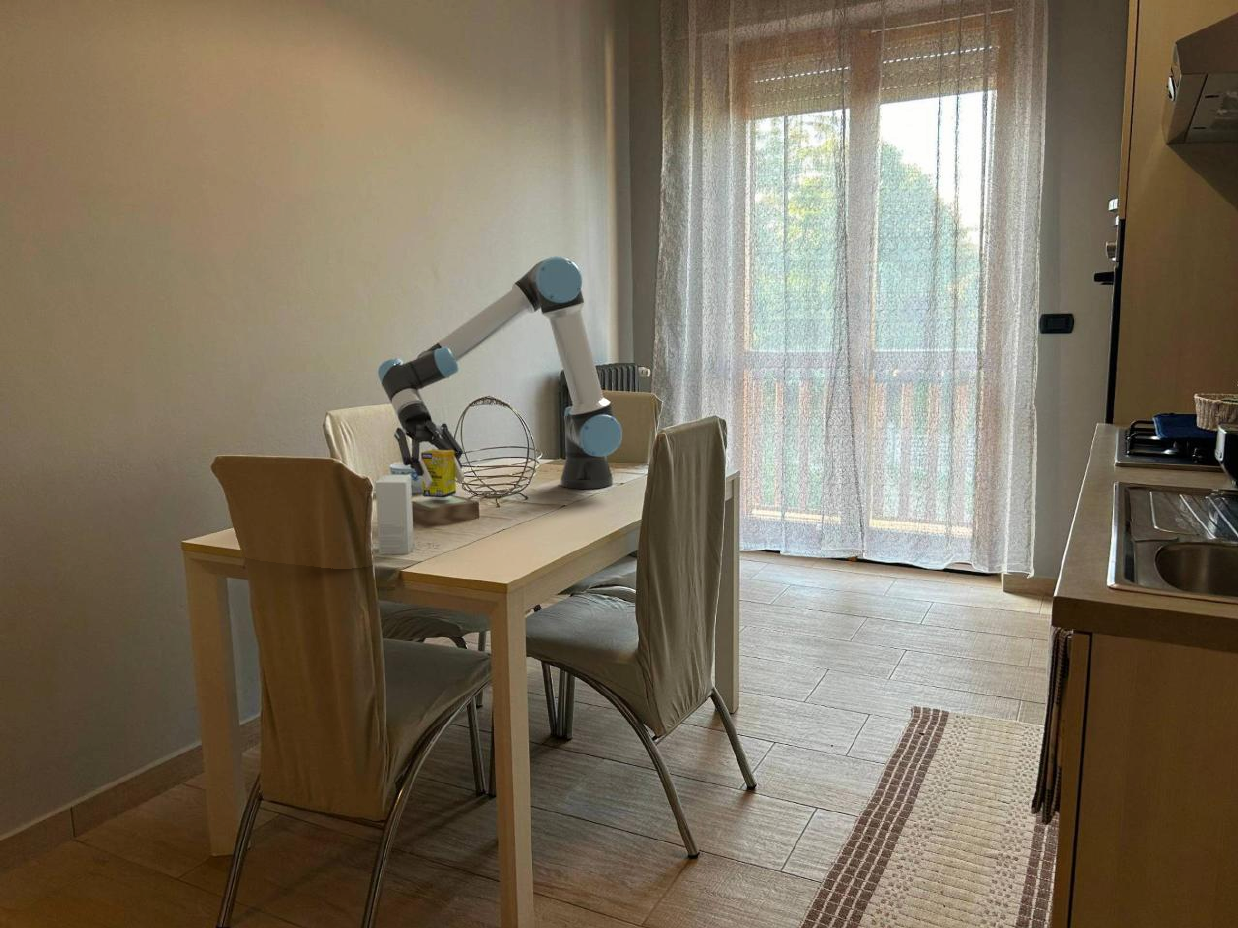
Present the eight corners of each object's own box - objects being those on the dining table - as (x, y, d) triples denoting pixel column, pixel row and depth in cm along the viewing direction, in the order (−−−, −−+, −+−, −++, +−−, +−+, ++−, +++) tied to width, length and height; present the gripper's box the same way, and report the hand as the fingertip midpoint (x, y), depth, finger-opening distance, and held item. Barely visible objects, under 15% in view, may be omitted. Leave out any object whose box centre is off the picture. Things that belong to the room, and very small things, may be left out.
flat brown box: (453, 510, 235) (452, 493, 234) (479, 517, 225) (478, 500, 224) (402, 518, 226) (401, 501, 226) (427, 526, 216) (426, 509, 216)
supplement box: (422, 497, 223) (420, 452, 221) (435, 492, 229) (432, 448, 227) (444, 498, 221) (442, 453, 219) (456, 493, 227) (454, 449, 225)
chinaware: (403, 498, 253) (402, 470, 251) (382, 490, 265) (380, 464, 263) (453, 491, 261) (452, 464, 260) (430, 484, 273) (429, 458, 272)
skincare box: (385, 545, 199) (381, 474, 197) (416, 544, 199) (412, 473, 197) (378, 555, 191) (373, 481, 188) (410, 554, 191) (406, 480, 189)
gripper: (444, 417, 240) (478, 486, 231) (368, 424, 228) (401, 497, 218) (453, 398, 235) (488, 467, 226) (376, 404, 223) (410, 478, 213)
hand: (445, 482), depth 222 cm, fingers closed on supplement box, 8 cm apart
